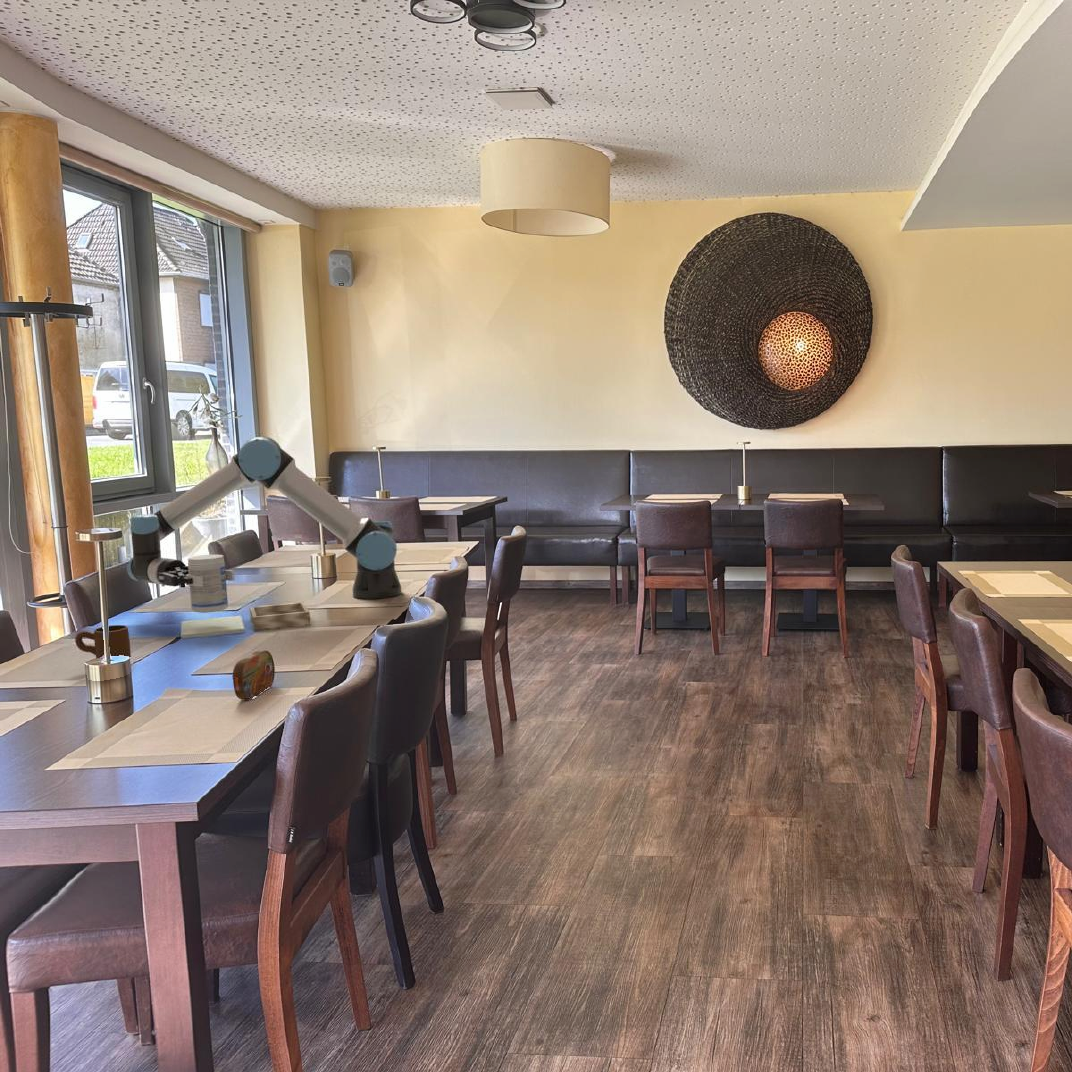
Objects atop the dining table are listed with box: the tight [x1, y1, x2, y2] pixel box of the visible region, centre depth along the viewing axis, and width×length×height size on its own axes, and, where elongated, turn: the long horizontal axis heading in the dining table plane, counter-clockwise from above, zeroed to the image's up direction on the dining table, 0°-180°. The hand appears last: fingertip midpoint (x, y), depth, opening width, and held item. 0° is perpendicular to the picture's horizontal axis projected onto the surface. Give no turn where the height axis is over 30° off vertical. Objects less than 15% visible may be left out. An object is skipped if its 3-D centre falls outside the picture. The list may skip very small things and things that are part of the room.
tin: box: [232, 650, 276, 701], centre depth 215 cm, size 15×3×8 cm, turn 170°
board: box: [180, 615, 245, 640], centre depth 280 cm, size 16×18×1 cm
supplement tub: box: [187, 554, 229, 614], centre depth 278 cm, size 10×10×15 cm
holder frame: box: [249, 601, 311, 630], centre depth 286 cm, size 15×15×4 cm
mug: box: [74, 624, 132, 660], centre depth 241 cm, size 12×8×9 cm, turn 97°
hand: (217, 578), depth 276 cm, fingers closed on supplement tub, 9 cm apart
